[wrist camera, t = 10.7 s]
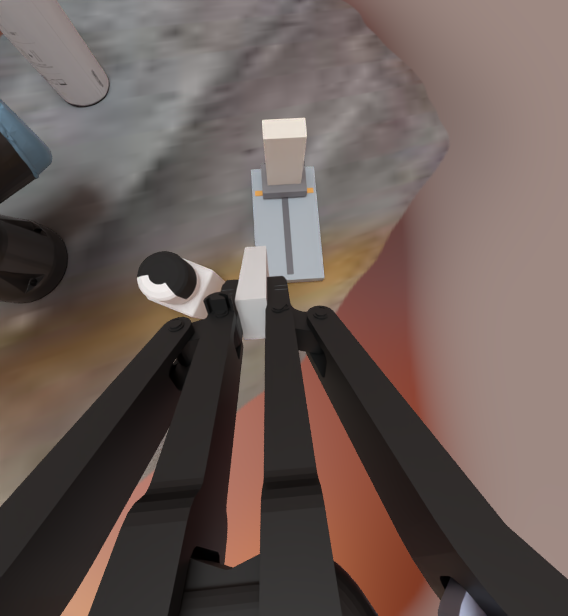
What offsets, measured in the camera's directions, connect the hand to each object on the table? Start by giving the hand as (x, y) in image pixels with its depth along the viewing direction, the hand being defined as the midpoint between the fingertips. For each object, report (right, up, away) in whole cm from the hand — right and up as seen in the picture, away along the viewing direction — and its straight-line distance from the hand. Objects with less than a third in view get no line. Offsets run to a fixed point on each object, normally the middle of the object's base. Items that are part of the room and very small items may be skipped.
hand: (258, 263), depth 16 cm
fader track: (+2, +12, +25) cm, 28 cm away
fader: (+2, +20, +24) cm, 31 cm away
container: (-14, -1, +23) cm, 27 cm away
